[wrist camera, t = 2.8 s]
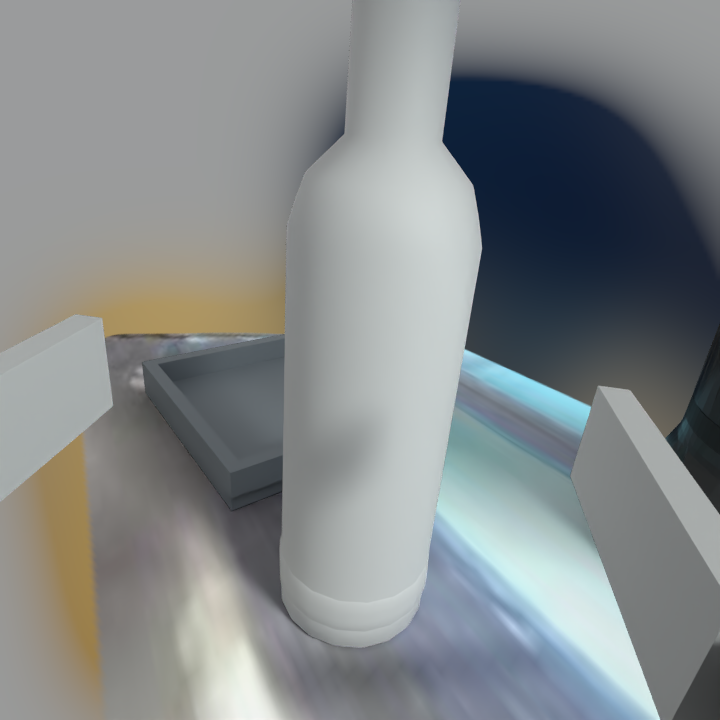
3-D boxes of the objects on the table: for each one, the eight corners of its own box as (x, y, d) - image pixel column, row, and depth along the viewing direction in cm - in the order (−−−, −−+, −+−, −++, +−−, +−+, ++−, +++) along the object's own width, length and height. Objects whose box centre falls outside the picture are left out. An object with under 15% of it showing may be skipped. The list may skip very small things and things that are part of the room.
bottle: (250, 616, 27) (235, -153, 14) (315, 519, 34) (345, -61, 21) (398, 677, 25) (540, -179, 12) (437, 559, 31) (553, -66, 19)
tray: (316, 353, 57) (317, 327, 55) (432, 432, 44) (437, 401, 43) (145, 392, 46) (142, 361, 45) (231, 510, 34) (230, 473, 32)
